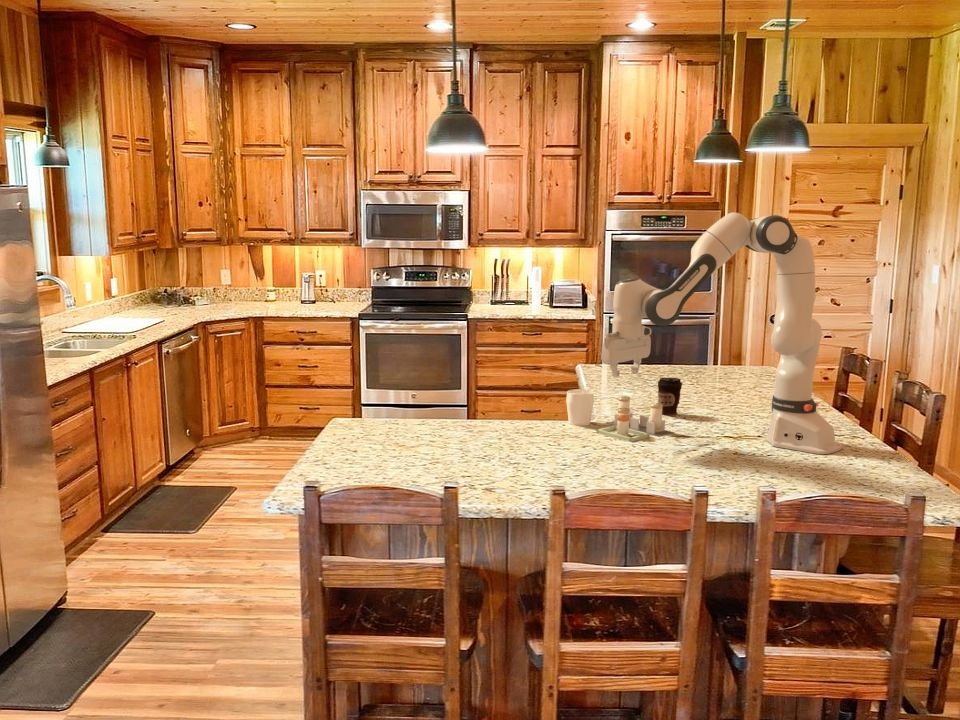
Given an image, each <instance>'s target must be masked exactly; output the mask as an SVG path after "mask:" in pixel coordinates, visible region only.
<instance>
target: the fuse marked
mask: <svg viewBox="0 0 960 720" xmlns="http://www.w3.org/2000/svg"><path fill="white" fill-rule="evenodd" d="M629 413H631V409H628V408H617V414H618V417H617V420H618V421H617V430H616V434H619V435H623V436H627V437H629V434H630V433H629V416H630V414H629Z"/></svg>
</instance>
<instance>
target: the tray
mask: <svg viewBox="0 0 960 720" xmlns="http://www.w3.org/2000/svg"><path fill="white" fill-rule="evenodd" d="M614 430H616V431H617V426H616V425H609V426H606V427H602V428H599V429H596V434H598V435H602V436H607V437H610V438H614V439H618V440H622V441H626V442H630V443H633V442H637V441H641V440H643V439H646V438H650V434H649V433H645V432H641V431H636V430H632V429H629V434H632V435H635V436H632V437H630V436H623V435H619V434H617V433H614V432H611V431H614Z"/></svg>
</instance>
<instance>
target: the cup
mask: <svg viewBox="0 0 960 720" xmlns="http://www.w3.org/2000/svg"><path fill="white" fill-rule="evenodd" d="M594 402H595V399H594V391H593V390H588V389H585V388H584V389H583V388H582V389H581V388H580V389H579V388H576V389H569V390H567V391H566V400H565V403H566V408H567V417H568V424H569V425H572V426H580V427H582V426H589V425H591V419H592V413H593V408H594Z"/></svg>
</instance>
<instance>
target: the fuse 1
mask: <svg viewBox="0 0 960 720" xmlns="http://www.w3.org/2000/svg"><path fill="white" fill-rule="evenodd" d="M630 401H631V397H630V396H628V395H627V396H626V395H625V396H624V395H621V396H618V408H628V409H630V408H631V407H630V403H631V402H630ZM618 408H617V409H618ZM630 410H631V409H630Z"/></svg>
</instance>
